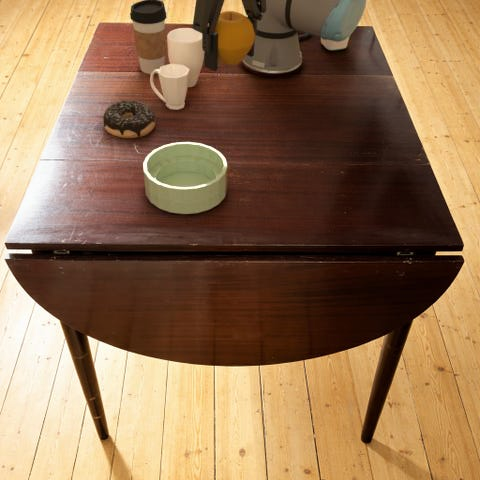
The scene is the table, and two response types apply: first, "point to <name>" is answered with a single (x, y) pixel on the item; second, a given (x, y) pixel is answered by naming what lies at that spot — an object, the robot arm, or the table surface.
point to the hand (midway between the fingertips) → (229, 60)
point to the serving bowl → (185, 177)
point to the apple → (234, 37)
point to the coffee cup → (149, 33)
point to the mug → (186, 51)
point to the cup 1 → (172, 84)
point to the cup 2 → (334, 44)
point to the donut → (129, 119)
